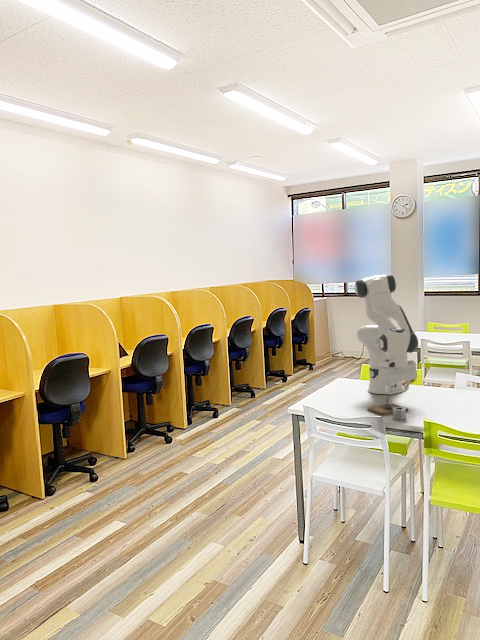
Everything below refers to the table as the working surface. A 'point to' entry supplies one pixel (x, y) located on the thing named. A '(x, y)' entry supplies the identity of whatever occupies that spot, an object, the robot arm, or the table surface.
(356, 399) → the table surface
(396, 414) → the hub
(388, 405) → the stand
